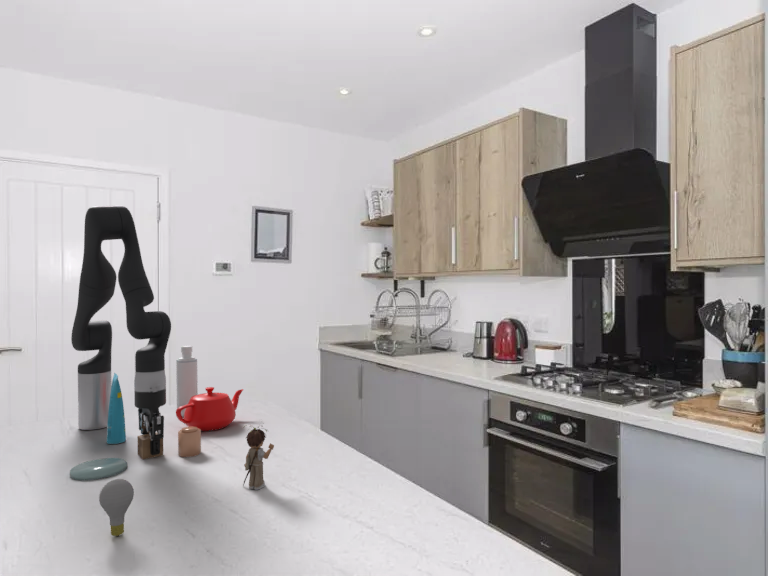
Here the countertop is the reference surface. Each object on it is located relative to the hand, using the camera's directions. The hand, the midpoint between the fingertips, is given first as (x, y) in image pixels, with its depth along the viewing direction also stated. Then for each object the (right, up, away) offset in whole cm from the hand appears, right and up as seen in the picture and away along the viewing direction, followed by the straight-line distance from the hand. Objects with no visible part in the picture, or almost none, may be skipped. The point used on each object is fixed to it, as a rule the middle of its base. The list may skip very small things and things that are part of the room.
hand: (151, 450), depth 135 cm
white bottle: (-6, -1, +41) cm, 41 cm away
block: (0, -1, 0) cm, 1 cm away
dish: (-7, -1, -11) cm, 14 cm away
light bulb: (+14, -1, -44) cm, 46 cm away
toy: (+33, -1, -22) cm, 40 cm away
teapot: (+7, -1, +27) cm, 28 cm away
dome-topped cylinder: (+10, -1, +1) cm, 10 cm away
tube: (-15, -1, +11) cm, 18 cm away
